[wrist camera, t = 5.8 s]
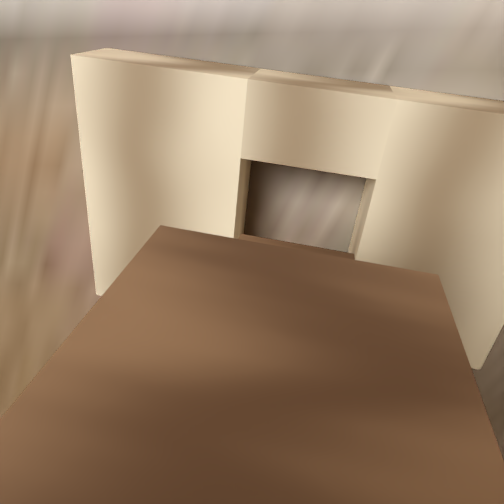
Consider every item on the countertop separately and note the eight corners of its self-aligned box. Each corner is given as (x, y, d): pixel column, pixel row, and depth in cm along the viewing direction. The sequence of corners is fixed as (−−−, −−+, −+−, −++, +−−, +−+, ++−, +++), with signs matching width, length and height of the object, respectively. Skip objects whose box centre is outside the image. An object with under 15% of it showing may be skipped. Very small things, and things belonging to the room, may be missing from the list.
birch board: (565, 109, 14) (605, 127, 12) (464, 329, 19) (480, 370, 17) (106, 48, 16) (70, 54, 14) (121, 264, 21) (96, 294, 19)
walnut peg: (418, 218, 10) (641, 847, 3) (364, 380, 13) (395, 912, 5) (196, 181, 11) (-159, 611, 3) (190, 343, 14) (-5, 779, 6)
